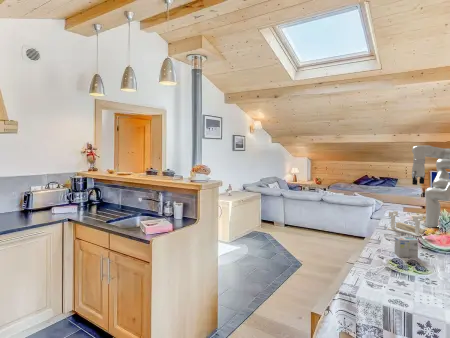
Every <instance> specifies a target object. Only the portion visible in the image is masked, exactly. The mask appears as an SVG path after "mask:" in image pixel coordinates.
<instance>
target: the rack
mask: <svg viewBox="0 0 450 338" xmlns="http://www.w3.org/2000/svg"><path fill="white" fill-rule="evenodd" d="M398 216H399V211H397V210H393V211H388V217H390V227H387V230H389V231H393V232H399V233H402V234H408V235H411V236H412V237H417V236H419V235H421V234H420V233H419V231H420V226H421V221H423V218H424V216H423V215H421V214H417V216H415V215H413V216H412V222H414V224H415V226H414V227H415V233H413V232H410V231H407V230H404V229H400V228H397V227H396V217H398Z"/></svg>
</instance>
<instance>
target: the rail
mask: <svg viewBox="0 0 450 338" xmlns="http://www.w3.org/2000/svg"><path fill="white" fill-rule="evenodd" d="M395 228H398V229H400V230H404V231H409V232H413V233H415V226H414V225H410V224H407V223H404V222H400V221H399V222H395ZM425 231H427V232H428V230H427V229H424V228H420V231H419V233H420V234H423V233H424V232H425Z"/></svg>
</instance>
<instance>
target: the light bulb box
mask: <svg viewBox="0 0 450 338" xmlns="http://www.w3.org/2000/svg"><path fill="white" fill-rule="evenodd" d="M394 254H395V255H396V256H397V257H399V258H414V259H415V258H418V256H419V239H417V238H415V236H394Z"/></svg>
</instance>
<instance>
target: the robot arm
mask: <svg viewBox="0 0 450 338" xmlns="http://www.w3.org/2000/svg"><path fill="white" fill-rule="evenodd" d="M411 152H412V154H413V158H412V160H413V162H412V169H411V178H412V185H414V186H417V185H418V184H420V185H425V176H426V167H425V164H426V158H432V159H433V158H434V159H437V160H436V162H435V166H436V167H435V168H436V176H435V177H434V179H433V181H432V183H431V184H432V185H431V186H432V187H428V188H426V189H425V193H424V194H425V202H426V203H425V204H426V205H425V222H424V223H422V224H423V226H424V227H427V228H432V227H437V226H438V219H439V216H440V217H441V204H440V201H443V202H449V201H450V173H449V172H448V171H447V170H450V148H442V147H437V146H432V145H415V146H413V147H412V148H411ZM418 178H419V181H418ZM418 182H419V183H418Z"/></svg>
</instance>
